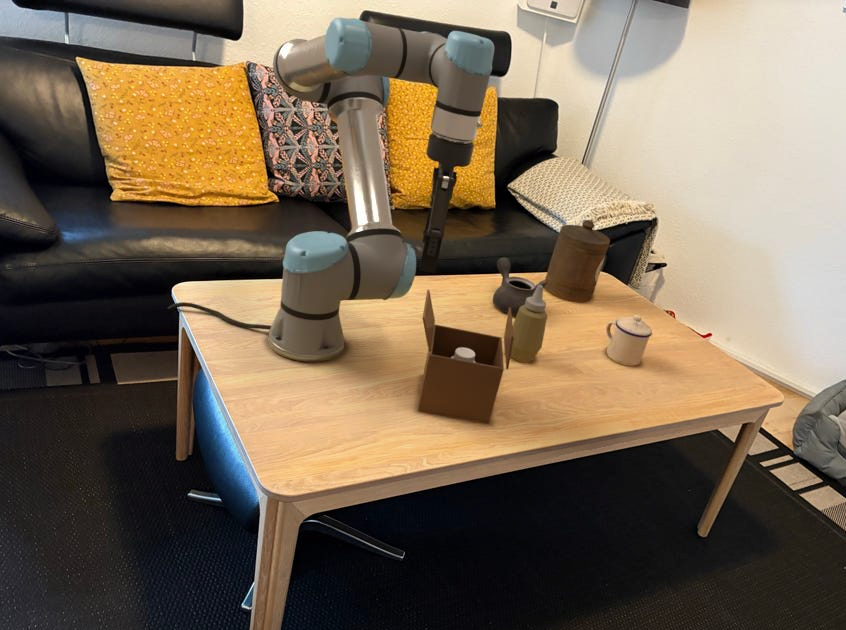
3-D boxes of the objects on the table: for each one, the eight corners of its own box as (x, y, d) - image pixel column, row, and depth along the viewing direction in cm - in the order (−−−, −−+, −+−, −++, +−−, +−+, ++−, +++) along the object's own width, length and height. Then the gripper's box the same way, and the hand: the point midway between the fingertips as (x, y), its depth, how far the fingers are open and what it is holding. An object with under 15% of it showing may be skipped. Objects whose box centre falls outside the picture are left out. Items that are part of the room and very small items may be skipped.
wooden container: (600, 303, 198) (624, 232, 187) (557, 301, 191) (578, 228, 181) (577, 281, 209) (598, 214, 199) (535, 279, 203) (554, 209, 193)
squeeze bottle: (535, 368, 154) (556, 297, 145) (501, 359, 154) (520, 287, 146) (539, 353, 161) (559, 285, 152) (506, 344, 161) (525, 275, 153)
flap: (431, 351, 122) (428, 351, 122) (435, 321, 133) (433, 321, 133) (424, 317, 119) (422, 318, 119) (429, 289, 130) (427, 289, 130)
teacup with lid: (647, 363, 169) (663, 322, 163) (625, 369, 163) (640, 327, 158) (612, 340, 176) (626, 300, 171) (589, 345, 171) (603, 304, 165)
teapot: (553, 316, 182) (564, 282, 177) (509, 321, 173) (518, 286, 168) (512, 286, 194) (521, 254, 190) (469, 289, 185) (477, 255, 181)
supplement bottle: (472, 403, 134) (483, 359, 129) (446, 404, 132) (456, 359, 127) (463, 388, 138) (473, 345, 133) (437, 388, 136) (447, 344, 131)
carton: (417, 411, 128) (436, 321, 119) (422, 376, 140) (439, 293, 131) (493, 424, 130) (517, 337, 121) (492, 389, 141) (513, 307, 132)
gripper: (477, 160, 100) (448, 288, 110) (473, 126, 122) (449, 236, 132) (427, 149, 99) (403, 280, 109) (432, 117, 121) (411, 228, 131)
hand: (428, 256), depth 121 cm, fingers open, 13 cm apart
